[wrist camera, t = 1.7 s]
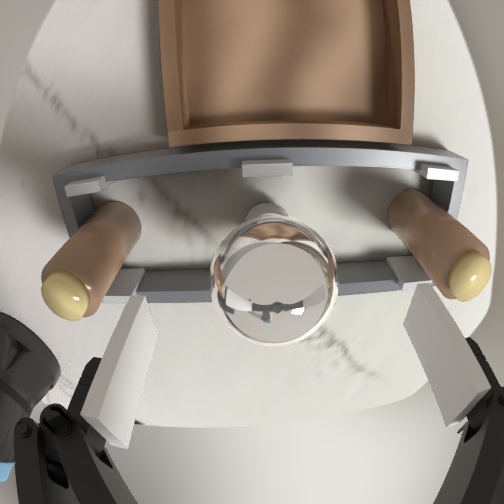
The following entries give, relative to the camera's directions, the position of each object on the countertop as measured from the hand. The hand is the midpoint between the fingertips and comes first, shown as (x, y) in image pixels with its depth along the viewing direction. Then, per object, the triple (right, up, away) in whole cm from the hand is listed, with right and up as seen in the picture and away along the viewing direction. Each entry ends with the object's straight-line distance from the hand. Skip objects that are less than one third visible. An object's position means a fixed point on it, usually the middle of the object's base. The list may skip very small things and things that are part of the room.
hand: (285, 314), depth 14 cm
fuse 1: (-13, +5, +10) cm, 17 cm away
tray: (+1, +17, +2) cm, 18 cm away
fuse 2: (+12, +6, +9) cm, 16 cm away
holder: (0, +6, +10) cm, 11 cm away
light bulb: (0, +6, +10) cm, 11 cm away
